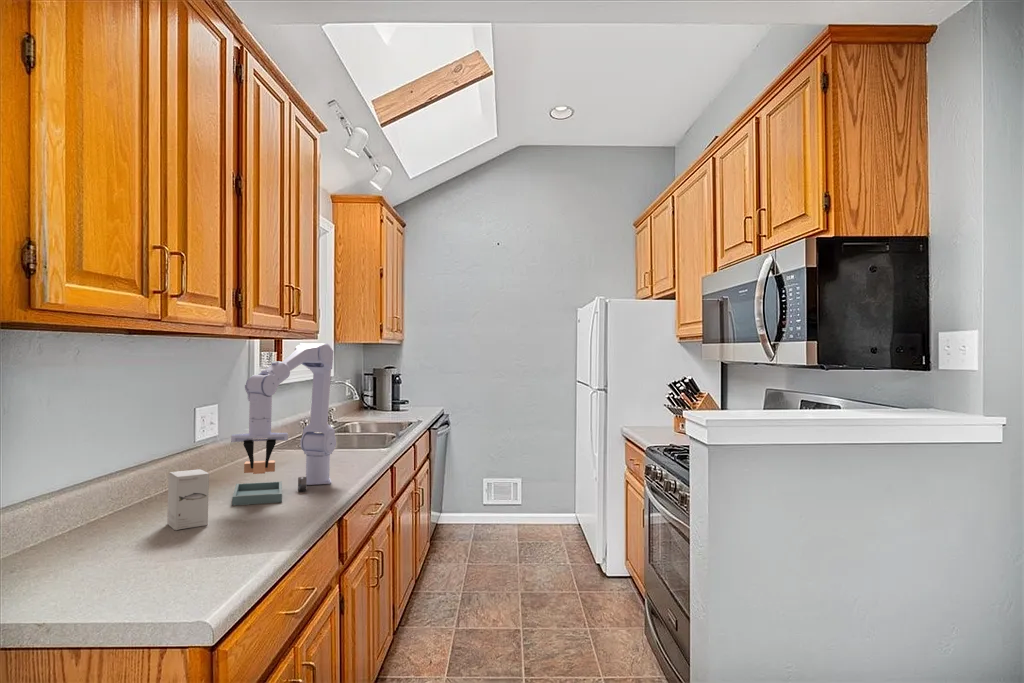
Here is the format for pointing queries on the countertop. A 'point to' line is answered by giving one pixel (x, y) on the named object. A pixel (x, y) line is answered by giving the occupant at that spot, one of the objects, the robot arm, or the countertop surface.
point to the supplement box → (188, 499)
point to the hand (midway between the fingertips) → (259, 467)
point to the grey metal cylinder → (302, 484)
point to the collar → (259, 467)
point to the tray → (257, 493)
